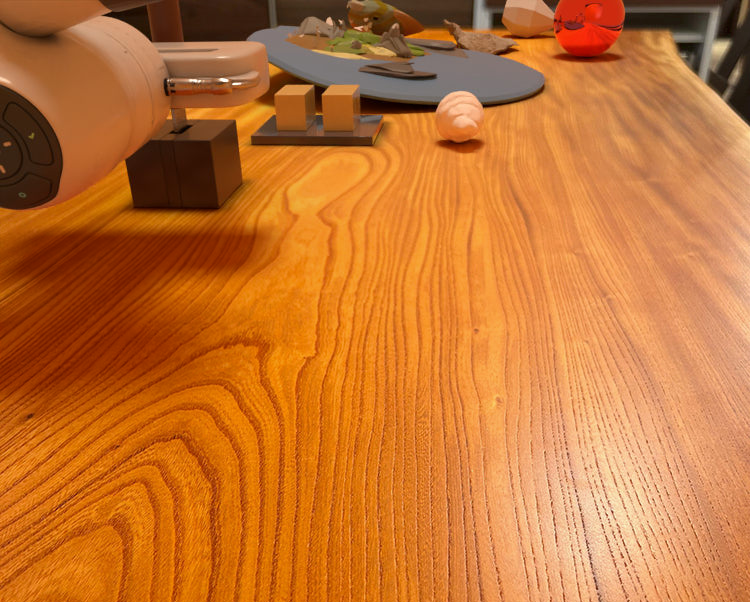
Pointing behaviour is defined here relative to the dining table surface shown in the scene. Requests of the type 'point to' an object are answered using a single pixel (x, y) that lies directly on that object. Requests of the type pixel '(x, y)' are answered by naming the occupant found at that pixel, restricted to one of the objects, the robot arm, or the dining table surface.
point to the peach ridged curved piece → (459, 116)
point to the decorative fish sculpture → (381, 18)
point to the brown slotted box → (187, 166)
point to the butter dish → (318, 118)
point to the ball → (588, 25)
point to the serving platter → (394, 64)
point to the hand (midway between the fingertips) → (160, 57)
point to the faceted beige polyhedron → (527, 17)
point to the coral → (478, 40)
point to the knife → (168, 30)
